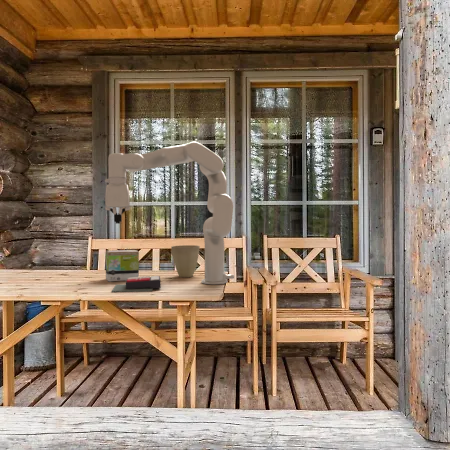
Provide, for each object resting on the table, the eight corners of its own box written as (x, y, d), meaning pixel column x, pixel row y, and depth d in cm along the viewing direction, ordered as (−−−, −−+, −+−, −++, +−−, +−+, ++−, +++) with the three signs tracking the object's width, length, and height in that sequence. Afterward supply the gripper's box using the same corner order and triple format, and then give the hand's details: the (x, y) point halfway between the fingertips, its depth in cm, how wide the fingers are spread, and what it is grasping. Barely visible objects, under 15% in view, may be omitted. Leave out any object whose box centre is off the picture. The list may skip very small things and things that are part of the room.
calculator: (126, 277, 202) (159, 274, 205) (127, 286, 202) (160, 283, 205) (125, 281, 191) (160, 278, 194) (125, 290, 192) (160, 287, 194)
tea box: (108, 282, 215) (107, 251, 214) (105, 279, 224) (105, 250, 223) (139, 280, 220) (139, 250, 220) (135, 277, 229) (135, 249, 229)
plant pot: (201, 274, 240) (201, 245, 239) (197, 278, 225) (197, 247, 224) (174, 274, 241) (174, 244, 241) (168, 278, 226) (168, 247, 226)
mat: (153, 285, 206) (153, 283, 206) (152, 291, 190) (152, 289, 190) (116, 285, 204) (116, 284, 204) (111, 292, 188) (111, 290, 188)
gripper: (98, 181, 190) (99, 223, 191) (134, 181, 192) (134, 223, 193) (101, 182, 197) (101, 223, 198) (135, 182, 199) (135, 223, 200)
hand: (117, 223), depth 195 cm, fingers closed
